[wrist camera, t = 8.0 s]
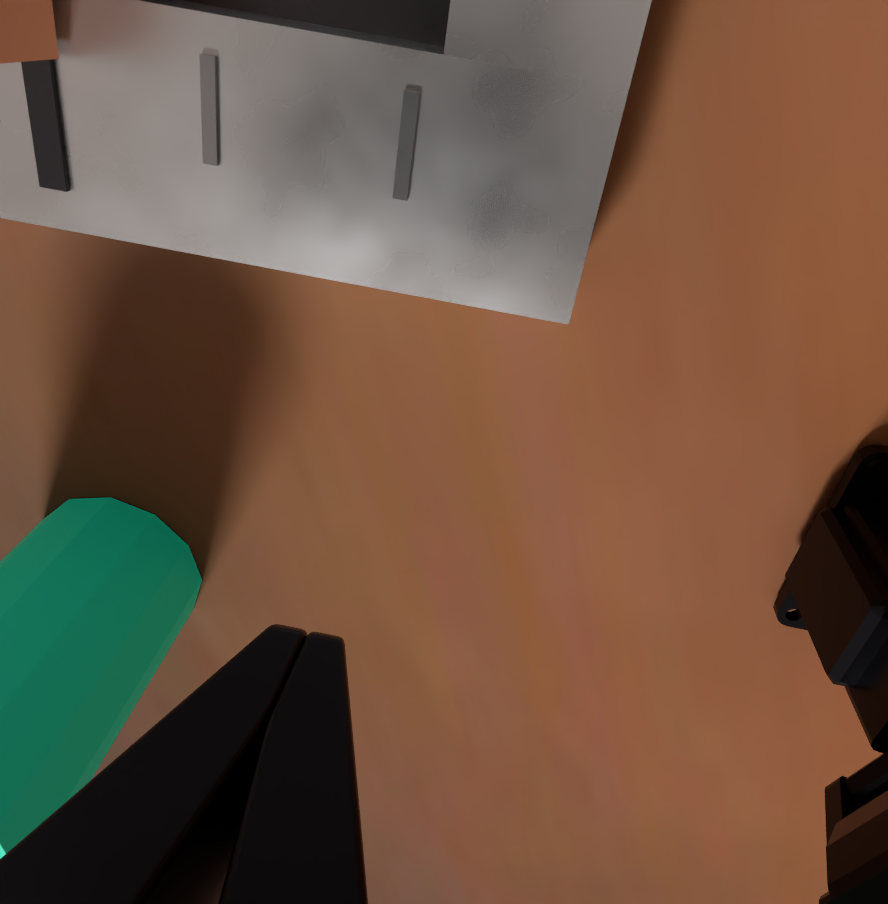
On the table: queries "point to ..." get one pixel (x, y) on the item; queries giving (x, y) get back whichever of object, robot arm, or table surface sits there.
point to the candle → (80, 646)
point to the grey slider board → (332, 137)
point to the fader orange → (27, 31)
